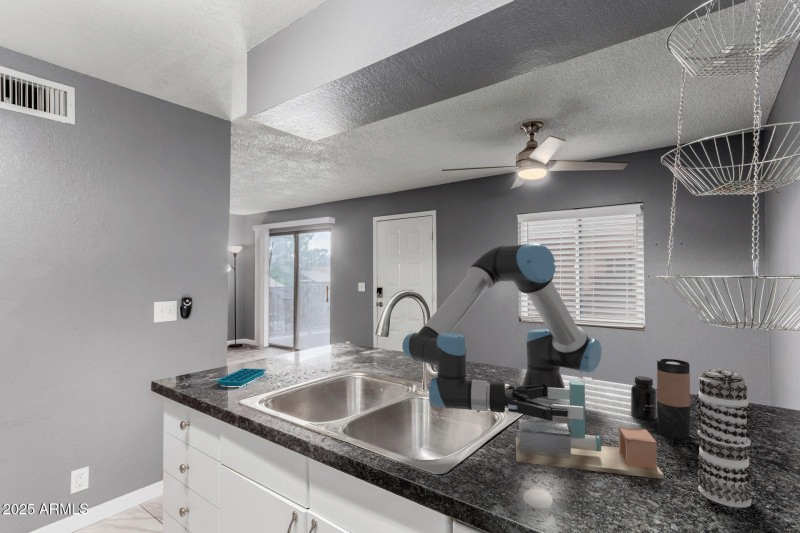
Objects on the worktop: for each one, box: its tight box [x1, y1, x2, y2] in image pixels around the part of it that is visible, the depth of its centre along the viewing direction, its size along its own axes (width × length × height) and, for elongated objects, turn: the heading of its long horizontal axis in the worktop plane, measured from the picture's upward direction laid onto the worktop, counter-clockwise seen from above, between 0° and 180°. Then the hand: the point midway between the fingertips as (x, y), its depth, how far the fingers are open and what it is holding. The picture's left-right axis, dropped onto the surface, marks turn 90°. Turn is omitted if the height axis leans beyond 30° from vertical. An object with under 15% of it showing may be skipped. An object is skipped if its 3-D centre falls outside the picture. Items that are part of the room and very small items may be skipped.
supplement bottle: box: [630, 375, 658, 421], centre depth 124 cm, size 7×7×12 cm
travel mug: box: [656, 358, 691, 440], centre depth 111 cm, size 8×8×20 cm
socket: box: [618, 426, 658, 469], centre depth 94 cm, size 6×7×6 cm
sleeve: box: [518, 418, 571, 459], centre depth 100 cm, size 12×7×6 cm, turn 74°
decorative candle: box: [694, 368, 754, 509], centre depth 81 cm, size 9×9×25 cm
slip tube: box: [568, 380, 602, 452], centre depth 98 cm, size 16×4×16 cm, turn 74°
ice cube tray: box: [215, 367, 267, 386], centre depth 167 cm, size 12×20×3 cm, turn 169°
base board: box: [515, 436, 664, 480], centre depth 97 cm, size 31×12×1 cm, turn 74°
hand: (578, 403), depth 97 cm, fingers open, 13 cm apart
